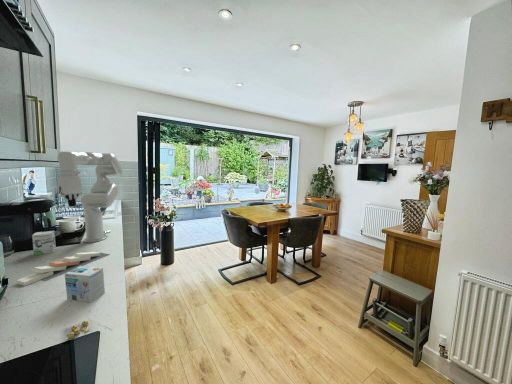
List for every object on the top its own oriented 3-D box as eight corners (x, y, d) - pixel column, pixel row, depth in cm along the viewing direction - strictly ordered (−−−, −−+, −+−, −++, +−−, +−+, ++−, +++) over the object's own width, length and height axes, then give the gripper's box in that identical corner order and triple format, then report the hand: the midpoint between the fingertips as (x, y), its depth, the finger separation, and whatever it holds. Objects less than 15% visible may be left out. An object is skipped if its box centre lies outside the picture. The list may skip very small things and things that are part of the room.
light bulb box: (66, 300, 82) (63, 273, 81) (82, 289, 89) (80, 265, 87) (91, 303, 81) (88, 275, 79) (105, 292, 87) (103, 267, 86)
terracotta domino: (73, 259, 112) (50, 262, 102) (79, 261, 110) (57, 263, 101) (72, 262, 111) (49, 265, 102) (79, 264, 110) (56, 267, 100)
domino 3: (84, 255, 117) (63, 257, 107) (90, 256, 115) (70, 258, 106) (83, 258, 117) (62, 260, 107) (90, 259, 115) (69, 262, 106)
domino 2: (59, 264, 106) (34, 267, 97) (66, 266, 105) (41, 269, 95) (58, 267, 106) (33, 271, 96) (65, 269, 104) (40, 272, 95)
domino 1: (45, 269, 101) (16, 280, 91) (52, 271, 99) (24, 282, 90) (46, 272, 101) (17, 283, 92) (53, 274, 100) (24, 285, 90)
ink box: (33, 255, 120) (30, 235, 119) (36, 252, 124) (34, 232, 123) (54, 252, 124) (51, 232, 123) (56, 249, 129) (54, 230, 127)
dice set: (67, 342, 63) (67, 336, 63) (68, 332, 67) (68, 326, 67) (89, 334, 67) (88, 328, 66) (88, 324, 71) (88, 319, 70)
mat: (95, 252, 126) (95, 251, 126) (110, 255, 122) (110, 254, 122) (28, 277, 98) (28, 276, 98) (45, 282, 94) (45, 281, 94)
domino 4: (94, 251, 122) (75, 253, 113) (101, 252, 120) (82, 254, 111) (93, 254, 122) (74, 256, 112) (100, 255, 120) (81, 257, 111)
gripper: (79, 173, 129) (81, 203, 131) (48, 174, 115) (52, 208, 117) (87, 173, 127) (90, 204, 129) (58, 174, 112) (61, 209, 115)
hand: (72, 206), depth 123 cm, fingers closed
